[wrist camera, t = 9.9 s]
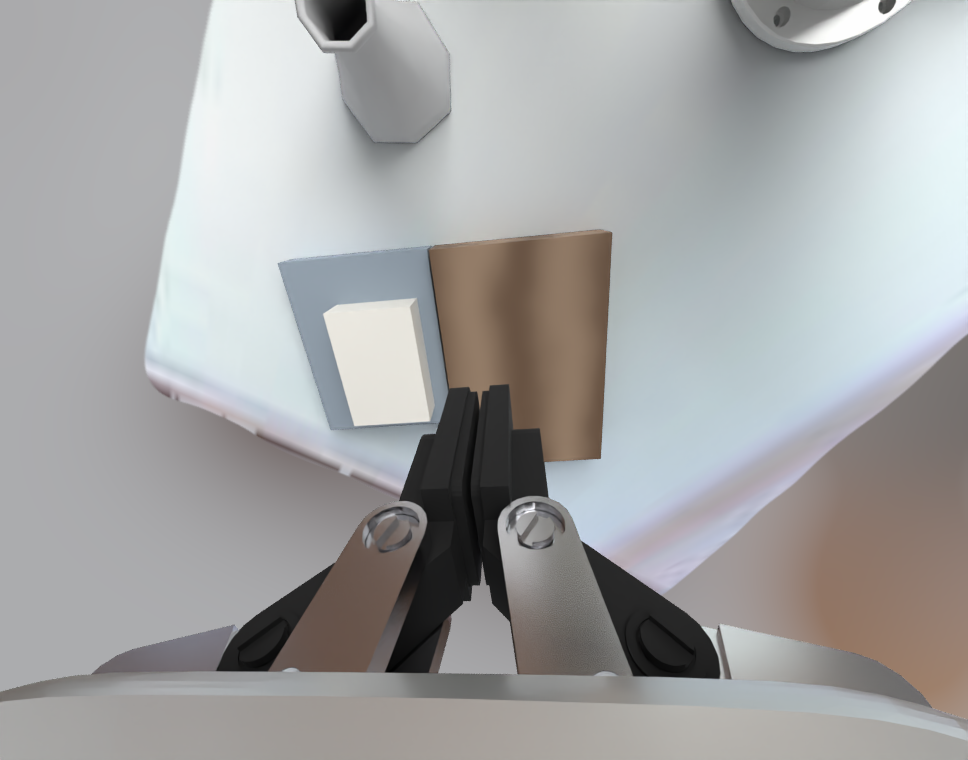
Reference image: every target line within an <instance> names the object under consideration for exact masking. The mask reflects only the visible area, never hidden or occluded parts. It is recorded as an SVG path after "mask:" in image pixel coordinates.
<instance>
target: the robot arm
mask: <svg viewBox="0 0 968 760" xmlns="http://www.w3.org/2000/svg"><path fill="white" fill-rule="evenodd" d="M911 1H912V0H731V2H732V5H733V7H734V8H735V10H736V12H737V13H738V15H739V17H740V19H741V20H742V22H743V23H744V24H745V25H746V27H747V28H748V29H749V30H750V31H751V32H752V33H753V34H754V35H755V36H756V37H757V38H759V39H761V40H762V41H764V42H766V43H768V44H769V45H771V46H773V47H775V48H779V49H783V50H787V51H791V52H815V51H820V50H824V49H828V48H832V47H836V46H838V45H841V44H843V43H845V42H848V41H850V40H853V39H855V38H857V37H859V36H861V35H863V34H865V33H867V32H869V31H871V30H872V29H874V28H876V27H878V26H880V25H882V24H883V23H885V22H886V21H887V20H888V19H890V18H891V17H892V16H894V15H895V14H896V13H898V12H899V11H900V10H902V9H903V8H904V7H906V6H907V5H908V4H909V3H910V2H911ZM774 21H775V24H774ZM482 562H483V568H484V574H485V580H486V584H487V585H489V586H490V593H491V598H492V604H493V605H494V606H495V607H496V608H497V609H498V610H499V611H500V612H501V613H502V614H503V615H504V616H505V617H506V618H507V619H508V620H509V621H510V626H511V633H512V640H513V646H514V653H515V660H516V667H517V674H518V675H516V674H514V675H512V674H442V673H441V674H440V673H438V671H439V668H440V664H441V661H442V657H443V653H444V650H445V646H446V642H447V639H448V635H449V631H450V627H451V614H452V613H453V612H454V611H455V610H457V609H458V608H459V607H460V606H461V605H462V604H463V601H471V593H472V585H480V581H481V568H482ZM0 760H968V720H967V719H964V718H961V717H958V716H955V715H952V714H949V713H946V712H942V711H939V710H936V709H933V708H932V707H931V705H930V704H929V703H928V702H927V700H926V699H925V698H924V696H923V695H922V694H921V693H920V692H919V691H917V689H915V688H914V687H913V686H912V685H911V684H910V683H908V682H907V681H906V680H905V679H904V678H903V677H902V676H901V675H899V674H897V673H896V672H894V671H893V670H891V669H889V668H887V667H886V666H884V665H883V664H881V663H879V662H878V661H876V660H873V659H870V658H867V657H864V656H862V655H859V654H856V653H852V652H847V651H843V650H838V649H833V648H829V647H824V646H820V645H815V644H811V643H806V642H801V641H796V640H792V639H788V638H783V637H778V636H774V635H769V634H765V633H760V632H755V631H751V630H746V629H742V628H736V627H732V626H728V625H723V624H719V626H718V629H712V628H708V627H703V626H700V625H699V624H698V623H697V622H696V621H695V620H694V619H693V618H691V617H690V616H689V615H688V614H687V613H685V612H684V611H683V610H681V609H679V608H678V607H677V606H675V605H674V604H672V603H671V602H670V601H668V600H666V599H665V598H664V597H662V596H661V595H659V594H658V593H656V592H655V591H654V590H652V589H651V588H649V587H648V586H646V585H645V584H643V583H642V582H640V581H639V580H638V579H636V578H635V577H633V576H632V575H630V574H629V573H627V572H626V571H624V570H623V569H622V568H620V567H619V566H617V565H616V564H614V563H613V562H611V561H610V560H609V559H607V558H606V557H604V556H603V555H601V554H600V553H598V552H597V551H595V550H594V549H593V548H591V547H590V546H588V545H587V544H585V543H584V542H582V541H581V540H580V537H579V535H578V532H577V529H576V527H575V524H574V522H573V519H572V517H571V515H570V514H569V512H568V510H567V509H566V508H565V507H563V506H562V505H561V504H560V503H559V502H556V501H554V500H552V499H550V498H549V497H548V489H547V481H546V473H545V465H544V457H543V450H542V442H541V434H540V428H532V429H515V430H513V420H512V409H511V398H510V388H509V384H503V385H490V387H489V391H482V398H481V406H480V407H479V399H478V393H477V391H475V392H471V391H470V388H469V387H460V388H450V389H449V392H448V395H447V398H446V402H445V405H444V409H443V412H442V415H441V419H440V422H439V425H438V429H437V432H436V434H426V435H423V436H422V437H421V440H420V442H419V445H418V448H417V451H416V454H415V457H414V460H413V462H412V465H411V468H410V471H409V474H408V477H407V480H406V482H405V485H404V488H403V491H402V494H401V497H400V500H399V501H395V502H391V503H388V504H384V505H382V506H380V507H378V508H376V509H375V510H373V511H372V512H370V513H369V514H368V515H367V516H366V517H365V518H364V519H363V520H362V521H361V523H360V524H359V525H358V527H357V529H356V530H355V532H354V533H353V535H352V537H351V538H350V540H349V541H348V543H347V545H346V546H345V548H344V549H343V551H342V553H341V554H340V556H339V558H338V559H337V561H336V562H335V563H334V564H332V565H331V566H329V567H328V568H326V569H325V570H323V571H322V572H320V573H319V574H317V575H316V576H314V577H313V578H311V579H310V580H308V581H307V582H305V583H304V584H302V585H301V586H299V587H298V588H296V589H295V590H293V591H292V592H290V593H289V594H287V595H286V596H284V597H283V598H281V599H280V600H279V601H277V602H275V603H274V604H273V605H271V606H270V607H268V608H267V609H265V610H264V611H262V612H261V613H259V614H258V615H256V616H255V617H254V618H253V619H251V620H250V621H249V622H248V623H246V624H245V625H244V626H243V627H242V628H241V629H240V630H238V629H237V627H236V626H235V625H231V626H227V627H223V628H219V629H214V630H210V631H206V632H202V633H198V634H194V635H190V636H185V637H182V638H177V639H173V640H169V641H165V642H160V643H156V644H152V645H148V646H144V647H140V648H136V649H132V650H130V651H127V652H125V653H122V654H119V655H117V656H115V657H114V658H112V659H111V660H109V661H108V662H106V663H104V664H103V665H101V666H100V667H99V668H98V669H96V670H95V671H94V672H93V673H92V674H91V675H77V676H69V677H63V678H57V679H51V680H45V681H40V682H36V683H32V684H28V685H24V686H20V687H16V688H12V689H9V690H5V691H1V692H0Z"/></svg>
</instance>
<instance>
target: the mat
mask: <svg viewBox="0 0 968 760" xmlns="http://www.w3.org/2000/svg"><path fill="white" fill-rule="evenodd" d="M429 249H431V246H425V247H415V248H404V249H394V250H384V251H373V252H363V253H353V254H342V255H332V256H322V257H311V258H301V259H291V260H288V261H284V262H280V263H278V266H279V269H280V272H281V275H282V278H283V281H284V284H285V288H286V291H287V294H288V297H289V300H290V303H291V306H292V310H293V313H294V316H295V319H296V322H297V325H298V329H299V332H300V335H301V338H302V341H303V344H304V347H305V351H306V354H307V357H308V360H309V363H310V366H311V369H312V373H313V376H314V379H315V382H316V385H317V388H318V391H319V395H320V398H321V401H322V404H323V407H324V410H325V413H326V417H327V420H328V423H329V426H330V429H331V430H338V429H353V428H368V427H383V426H398V425H413V424H428V423H439V422H440V419H441V415H442V412H443V409H444V405H445V402H446V398H447V395H448V392H449V383H448V376H447V370H446V363H445V356H444V349H443V343H442V336H441V329H440V323H439V316H438V309H437V302H436V296H435V289H434V282H433V275H432V269H431V262H430V255H429ZM412 298H417V301H418V307H419V313H420V319H421V325H422V331H423V337H424V343H425V349H426V355H427V361H428V367H429V373H430V379H431V385H432V391H433V397H434V403H435V407H434V410H433V414H432V417H431V420H430V421H429V422H413V423H398V424H382V425H367V426H354V423H353V419H352V416H351V412H350V409H349V405H348V401H347V398H346V394H345V391H344V387H343V384H342V380H341V376H340V373H339V369H338V366H337V362H336V359H335V355H334V352H333V348H332V344H331V341H330V337H329V334H328V330H327V327H326V323H325V319H324V316H323V313H325V312H327V311H328V310H330V309H331V308H333V307H334V306H336V305H341V304H353V303H365V302H376V301H388V300H400V299H412Z"/></svg>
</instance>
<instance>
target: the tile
mask: <svg viewBox="0 0 968 760" xmlns="http://www.w3.org/2000/svg"><path fill="white" fill-rule="evenodd" d="M323 316H324V319H325V323H326V327H327V330H328V334H329V337H330V341H331V344H332V348H333V352H334V355H335V359H336V362H337V366H338V369H339V373H340V376H341V380H342V384H343V387H344V391H345V394H346V398H347V401H348V405H349V409H350V412H351V416H352V419H353V423H354V426H367V425H382V424H398V423H413V422H429V421H430V420H431V417H432V414H433V410H434V407H435V403H434V397H433V391H432V385H431V379H430V373H429V367H428V361H427V355H426V349H425V343H424V337H423V331H422V325H421V319H420V313H419V307H418V301H417V298H412V299H400V300H388V301H376V302H365V303H353V304H341V305H336V306H334V307H333V308H331V309H330V310H328V311H327V312H325V313H323Z"/></svg>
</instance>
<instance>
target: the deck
mask: <svg viewBox="0 0 968 760" xmlns="http://www.w3.org/2000/svg"><path fill="white" fill-rule="evenodd" d="M611 247H612V232H609V231H604V230H590V231H580V232H569V233H559V234H549V235H538V236H528V237H518V238H507V239H497V240H487V241H477V242H466V243H456V244H446V245H435V246H434V247H432V248H431V249H429V255H430V262H431V269H432V275H433V282H434V289H435V296H436V302H437V309H438V316H439V323H440V329H441V336H442V343H443V349H444V356H445V363H446V370H447V376H448V383H449V389H450V388H460V387H469V388H470V391H471V392H475V391H477V393H478V399H479V407H480V406H481V398H482V391H489V387H490V385H503V384H509V388H510V398H511V409H512V420H513V430H515V429H532V428H540V434H541V442H542V450H543V457H544V462H552V461H569V460H586V459H601V443H602V424H603V404H604V384H605V365H606V345H607V325H608V306H609V286H610V266H611Z"/></svg>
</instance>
